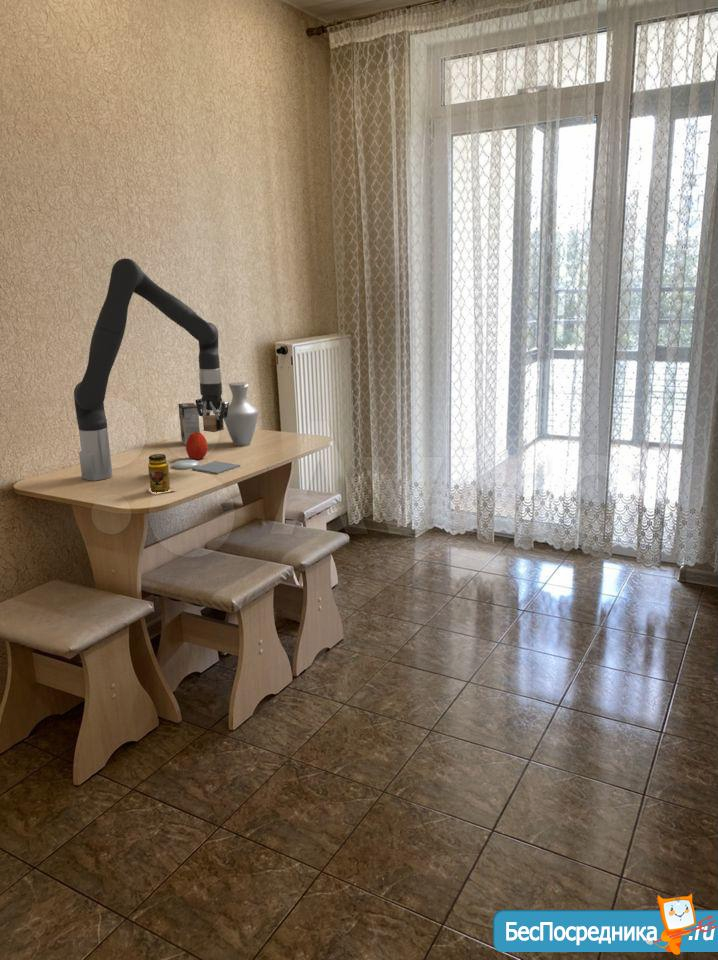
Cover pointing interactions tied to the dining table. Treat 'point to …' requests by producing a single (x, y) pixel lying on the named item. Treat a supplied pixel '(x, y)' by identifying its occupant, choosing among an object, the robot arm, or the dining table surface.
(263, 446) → the dining table surface
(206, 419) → the walnut block
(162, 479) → the condiment
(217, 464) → the slate pad
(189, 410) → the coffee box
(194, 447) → the red egg
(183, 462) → the saucer
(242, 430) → the vase
